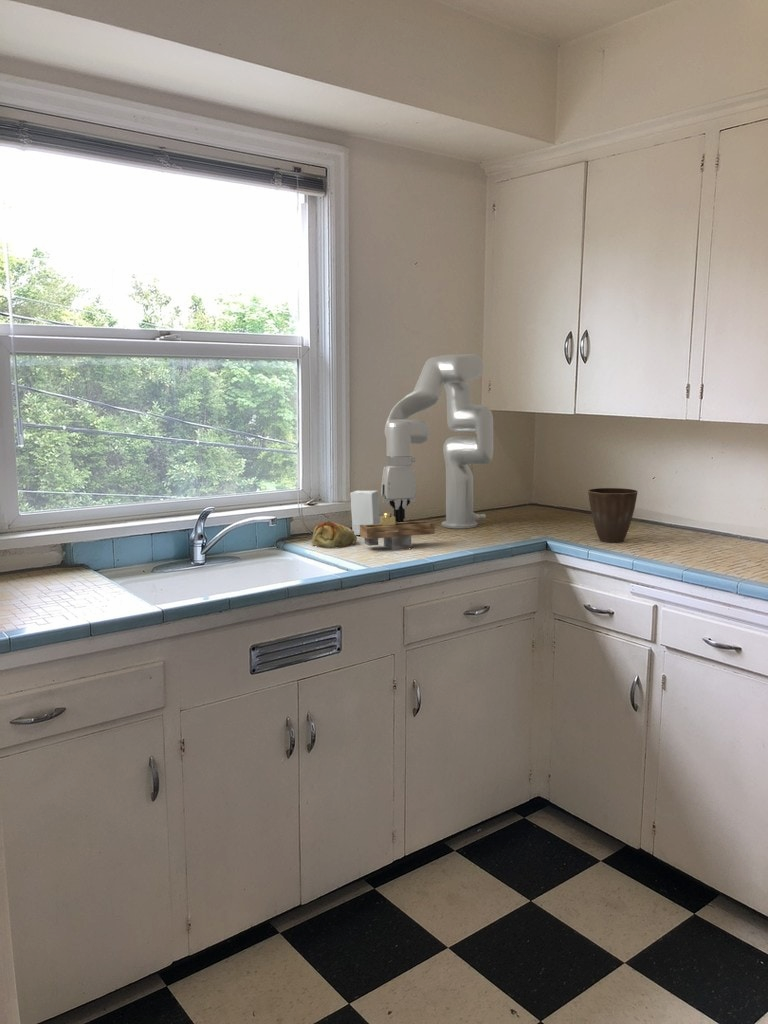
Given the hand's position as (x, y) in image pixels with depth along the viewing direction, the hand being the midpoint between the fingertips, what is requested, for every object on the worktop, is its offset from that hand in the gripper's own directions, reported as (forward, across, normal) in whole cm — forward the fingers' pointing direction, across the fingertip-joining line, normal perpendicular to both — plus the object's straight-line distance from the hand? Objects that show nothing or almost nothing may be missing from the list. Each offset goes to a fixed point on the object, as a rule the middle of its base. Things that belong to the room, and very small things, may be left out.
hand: (399, 521), depth 249 cm
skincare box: (+8, +3, -24) cm, 26 cm away
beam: (+8, +1, 0) cm, 8 cm away
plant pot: (+8, -65, +17) cm, 68 cm away
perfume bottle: (+2, +4, 0) cm, 4 cm away
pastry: (+8, +17, -12) cm, 23 cm away
